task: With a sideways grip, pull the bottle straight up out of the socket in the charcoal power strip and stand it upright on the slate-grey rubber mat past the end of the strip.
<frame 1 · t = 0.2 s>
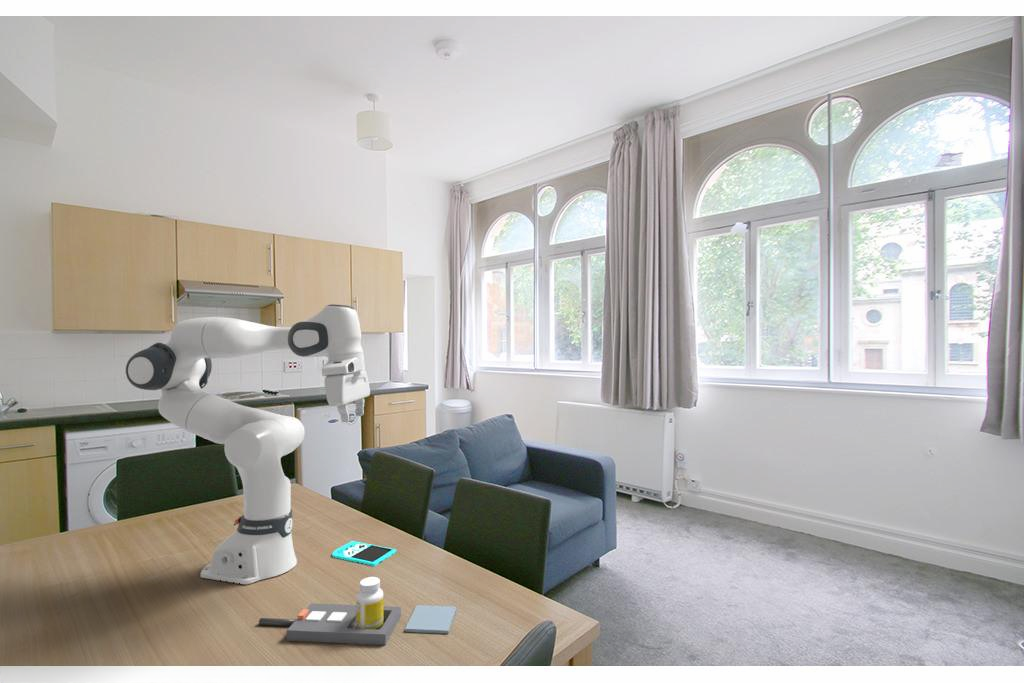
hand: (353, 418, 125), 39 cm above the table, tool pointing down, fingers open, 8 cm apart
rubber mat: (431, 620, 103), on the table
handheld game console: (363, 556, 135), on the table
power strip: (346, 627, 100), on the table
supplement bottle: (369, 629, 99), resting in power strip
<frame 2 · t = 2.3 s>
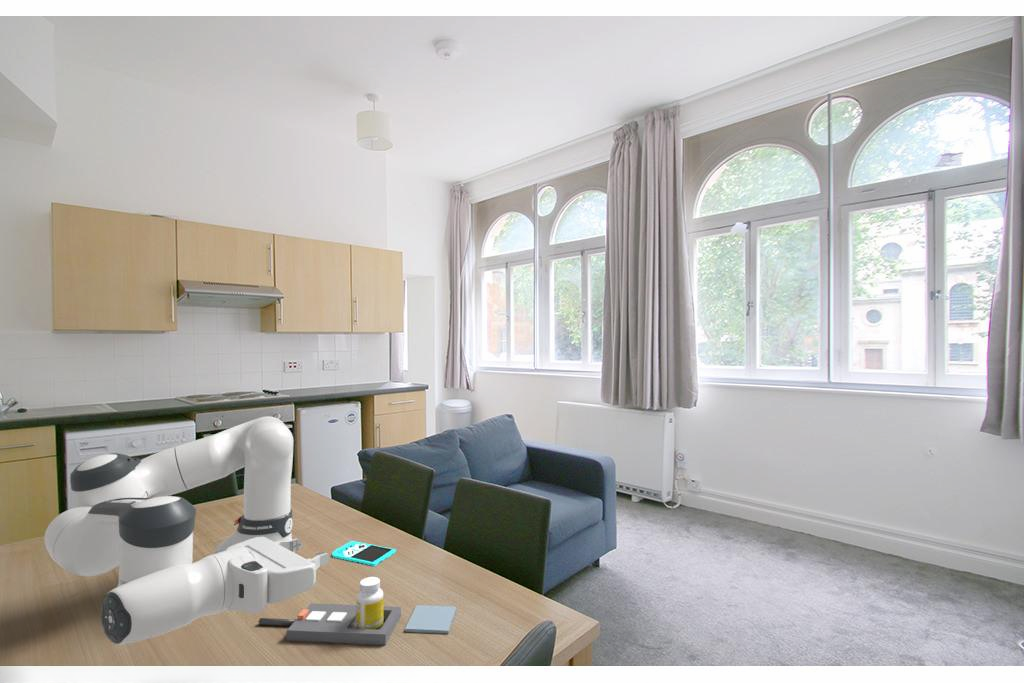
hand: (313, 549, 90), 20 cm above the table, tool horizontal, fingers open, 8 cm apart
nothing on the table moved.
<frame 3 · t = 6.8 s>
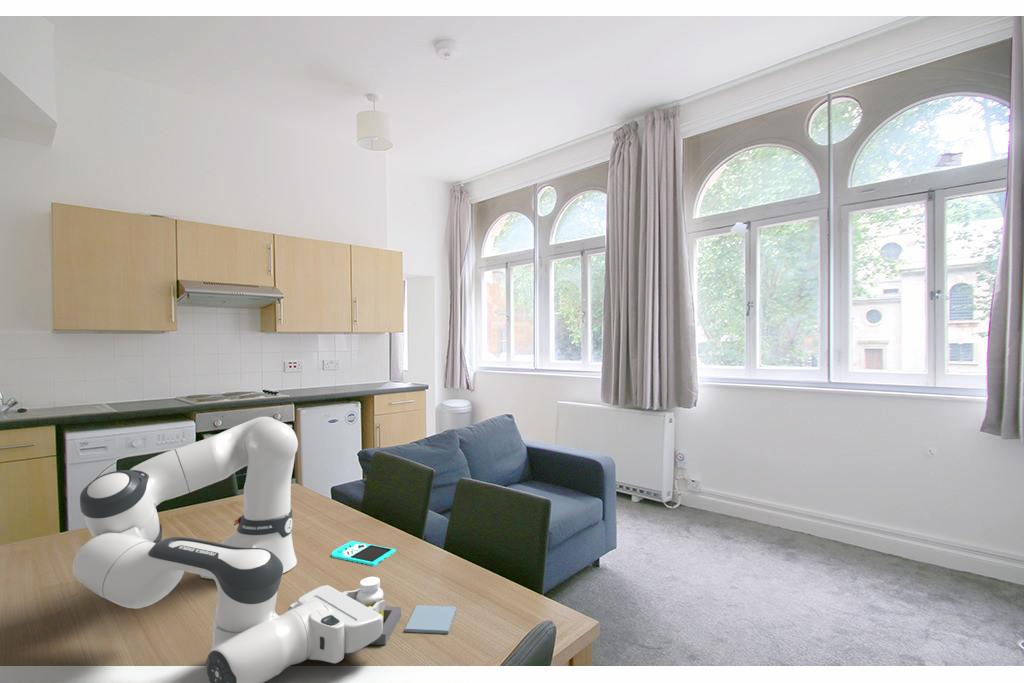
hand: (373, 597, 100), 6 cm above the table, tool horizontal, fingers closed on supplement bottle, 5 cm apart
supplement bottle: (369, 629, 99), resting in power strip, touching gripper
everything else where it was.
when the fingers open (8 cm above the table, at t = 12.2 s): supplement bottle drops 1 cm, resting on rubber mat.
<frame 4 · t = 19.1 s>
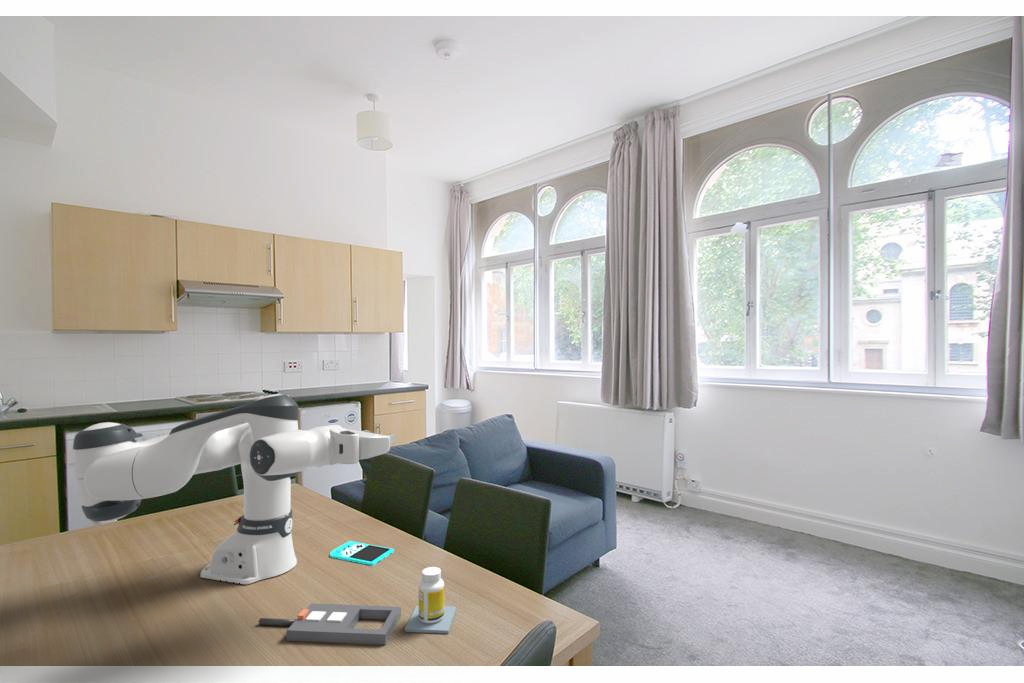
hand: (381, 435, 120), 36 cm above the table, tool horizontal, fingers open, 8 cm apart
supplement bottle: (431, 618, 103), resting on rubber mat
everything else where it was.
at the end: supplement bottle 0.1 cm from the rubber mat (horizontally); supplement bottle tilted 0°; the gripper is holding nothing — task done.
